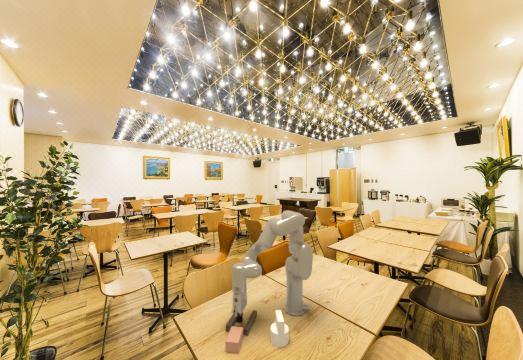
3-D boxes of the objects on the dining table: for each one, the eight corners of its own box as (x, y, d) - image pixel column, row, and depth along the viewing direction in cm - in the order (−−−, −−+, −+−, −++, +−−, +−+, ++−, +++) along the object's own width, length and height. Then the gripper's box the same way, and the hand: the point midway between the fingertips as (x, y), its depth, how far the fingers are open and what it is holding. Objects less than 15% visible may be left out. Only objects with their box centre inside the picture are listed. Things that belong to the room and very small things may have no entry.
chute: (257, 315, 121) (257, 310, 121) (247, 336, 106) (247, 330, 106) (237, 312, 125) (237, 307, 125) (225, 331, 109) (225, 325, 109)
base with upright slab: (269, 333, 107) (269, 310, 107) (286, 332, 108) (286, 309, 108) (271, 348, 98) (271, 322, 98) (290, 346, 99) (290, 321, 99)
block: (243, 337, 105) (243, 327, 105) (238, 353, 95) (238, 342, 95) (231, 336, 106) (231, 326, 106) (225, 352, 96) (225, 341, 96)
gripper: (241, 296, 103) (241, 333, 103) (250, 281, 117) (250, 314, 117) (226, 294, 105) (227, 330, 105) (238, 280, 119) (238, 312, 119)
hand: (239, 321), depth 111 cm, fingers closed
